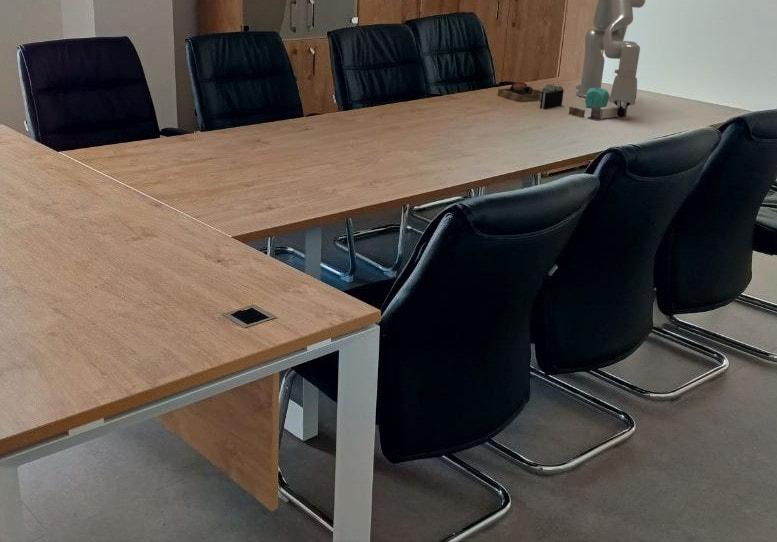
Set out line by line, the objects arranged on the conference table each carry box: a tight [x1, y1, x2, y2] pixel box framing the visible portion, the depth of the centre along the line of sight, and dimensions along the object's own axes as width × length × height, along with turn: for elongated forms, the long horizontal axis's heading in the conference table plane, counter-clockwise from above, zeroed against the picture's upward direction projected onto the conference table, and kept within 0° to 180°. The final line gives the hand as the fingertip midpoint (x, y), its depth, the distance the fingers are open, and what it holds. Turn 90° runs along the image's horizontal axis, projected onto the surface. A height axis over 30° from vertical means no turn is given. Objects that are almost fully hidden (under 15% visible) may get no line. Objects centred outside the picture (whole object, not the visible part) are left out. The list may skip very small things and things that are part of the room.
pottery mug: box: [509, 81, 533, 95], centre depth 424 cm, size 12×10×8 cm
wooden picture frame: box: [497, 87, 542, 103], centre depth 425 cm, size 16×18×3 cm
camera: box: [538, 83, 565, 110], centre depth 408 cm, size 15×7×10 cm, turn 138°
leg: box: [599, 105, 628, 119], centre depth 394 cm, size 16×4×4 cm, turn 123°
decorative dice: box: [584, 88, 610, 109], centre depth 412 cm, size 8×8×8 cm
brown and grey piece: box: [568, 106, 603, 121], centre depth 391 cm, size 15×7×5 cm, turn 33°
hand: (620, 116), depth 391 cm, fingers closed
